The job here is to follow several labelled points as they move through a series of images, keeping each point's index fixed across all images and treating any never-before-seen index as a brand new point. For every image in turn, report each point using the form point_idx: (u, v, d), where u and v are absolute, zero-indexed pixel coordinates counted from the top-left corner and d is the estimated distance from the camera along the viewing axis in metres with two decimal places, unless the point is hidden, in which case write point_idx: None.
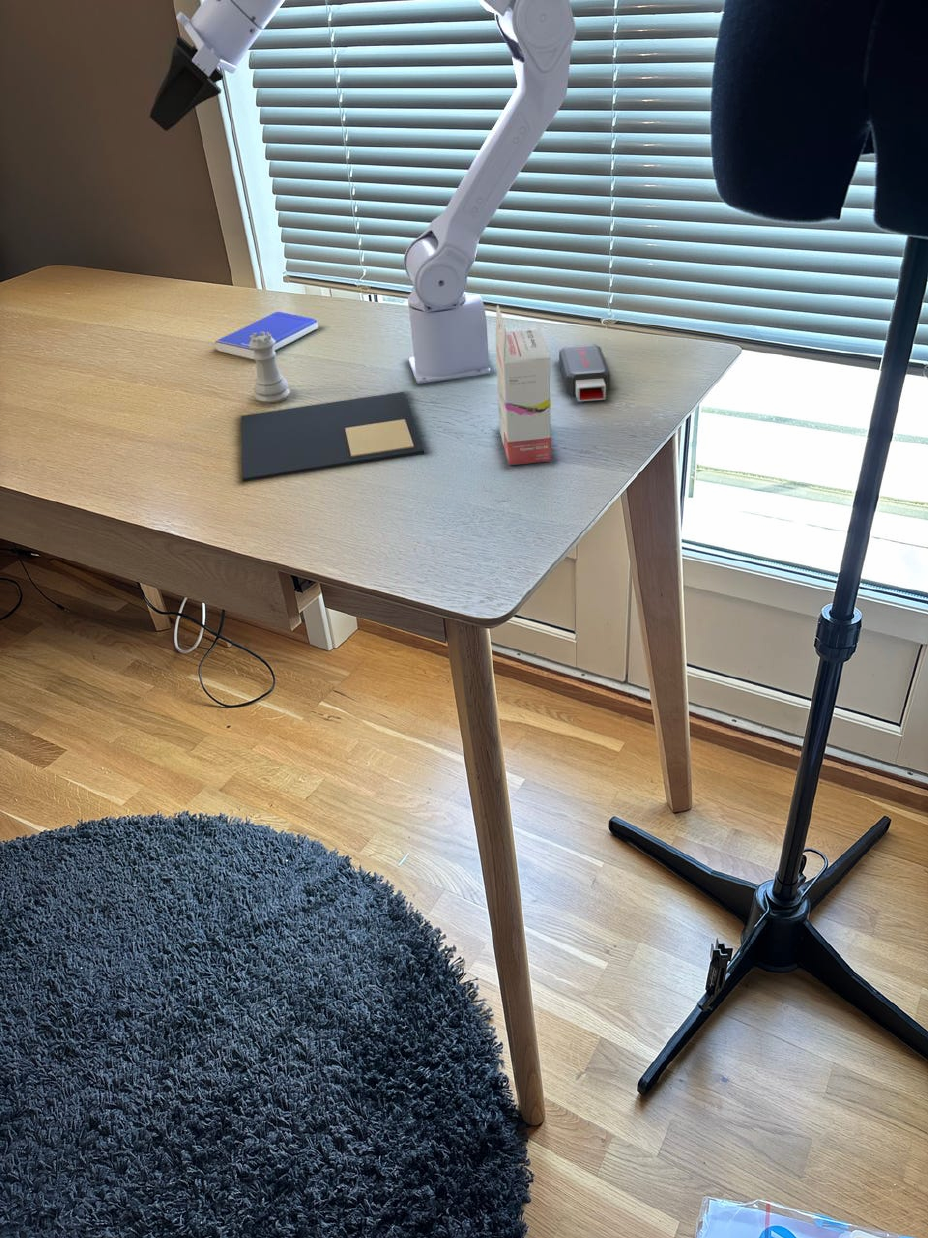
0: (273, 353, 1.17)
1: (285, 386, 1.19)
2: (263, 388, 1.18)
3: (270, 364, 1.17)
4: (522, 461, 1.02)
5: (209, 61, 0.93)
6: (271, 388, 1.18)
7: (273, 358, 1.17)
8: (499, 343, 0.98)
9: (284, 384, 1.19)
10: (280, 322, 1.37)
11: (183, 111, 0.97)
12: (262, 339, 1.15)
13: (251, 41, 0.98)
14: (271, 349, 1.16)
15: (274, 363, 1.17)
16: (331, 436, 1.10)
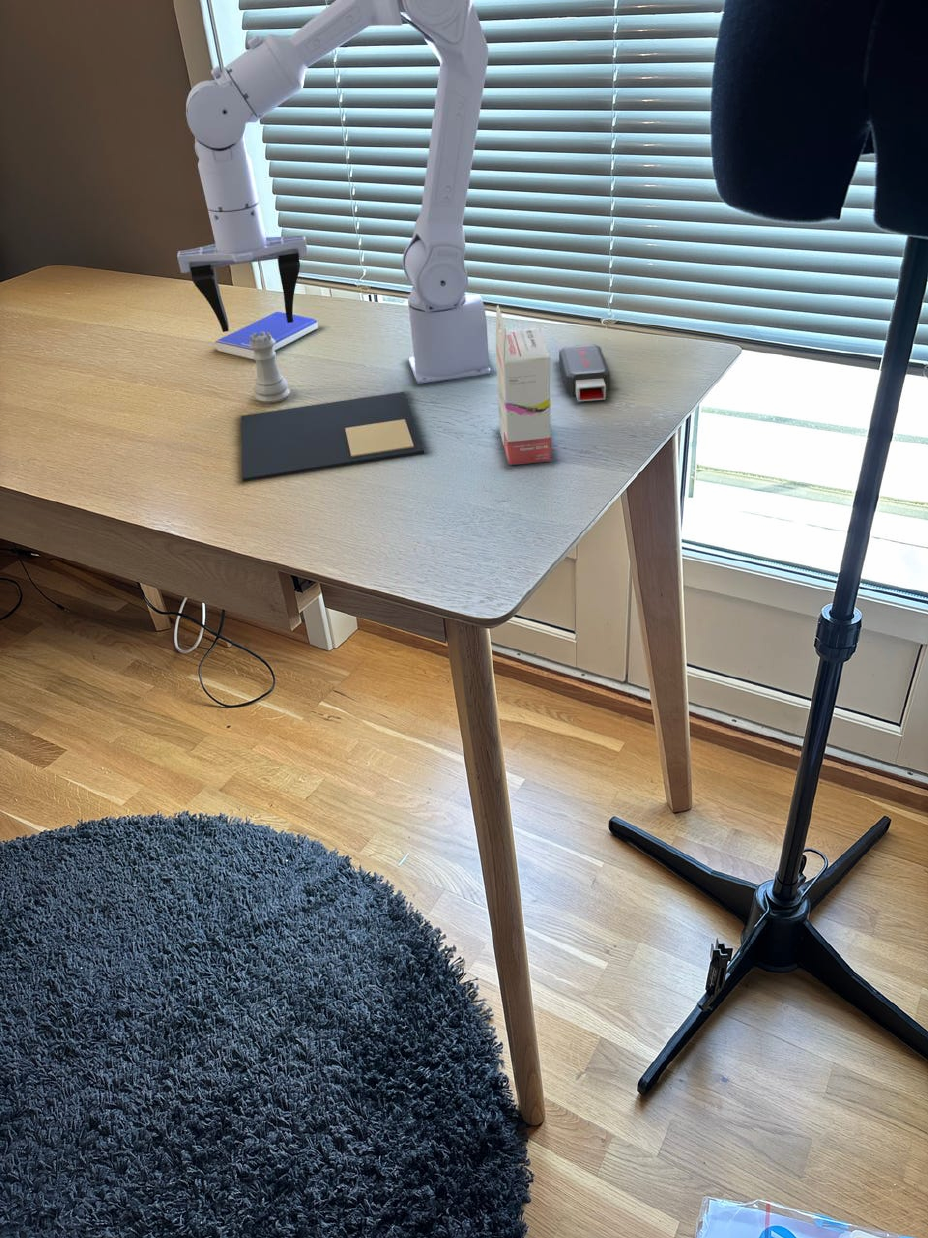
0: (273, 353, 1.17)
1: (285, 386, 1.19)
2: (263, 388, 1.18)
3: (270, 364, 1.17)
4: (522, 461, 1.02)
5: None
6: (271, 388, 1.18)
7: (273, 358, 1.17)
8: (499, 343, 0.98)
9: (284, 384, 1.19)
10: (280, 322, 1.37)
11: None
12: (262, 339, 1.15)
13: None
14: (271, 349, 1.16)
15: (274, 363, 1.17)
16: (331, 436, 1.10)
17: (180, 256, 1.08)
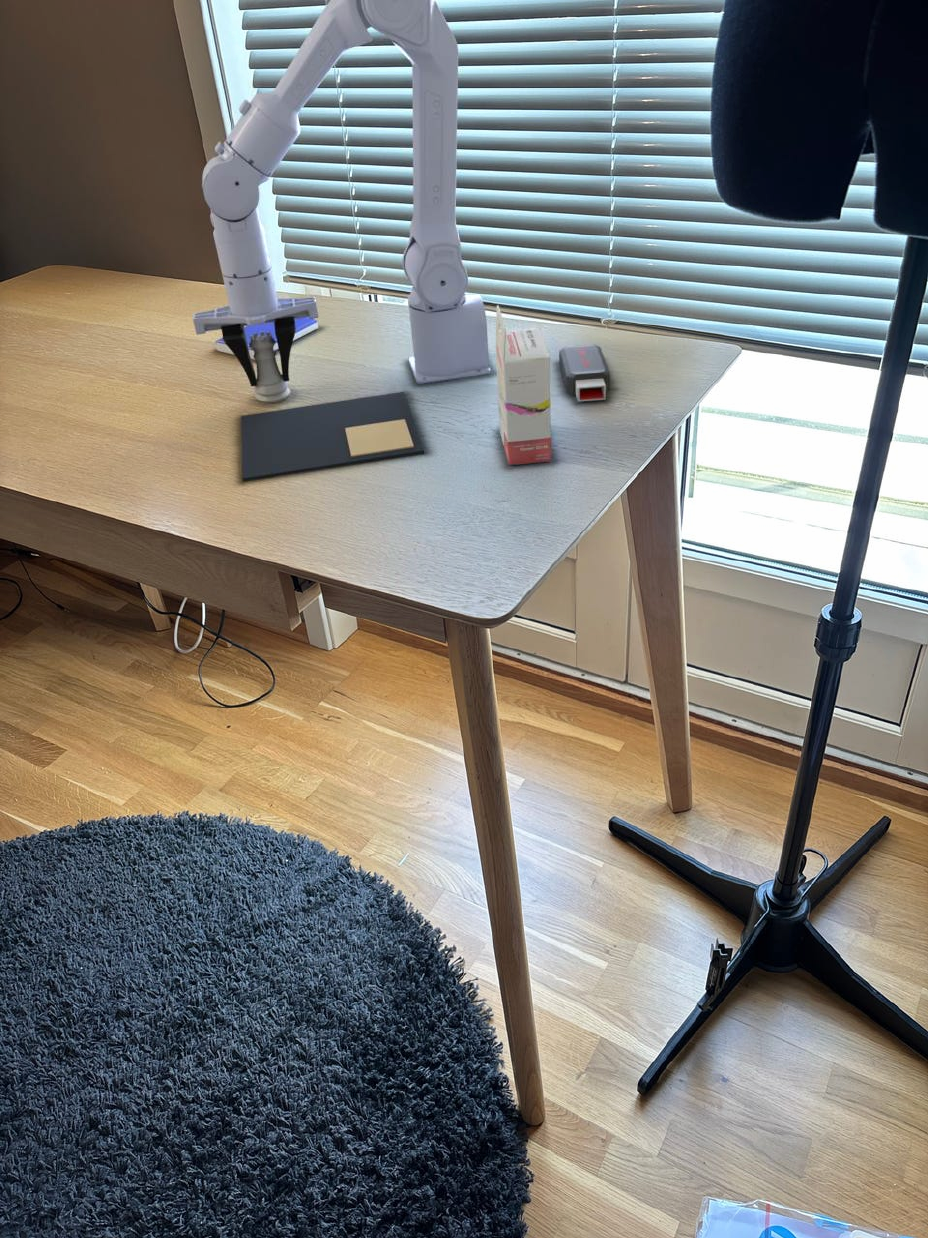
0: (273, 353, 1.17)
1: (285, 386, 1.19)
2: (263, 388, 1.18)
3: (270, 364, 1.17)
4: (522, 461, 1.02)
5: None
6: (271, 388, 1.18)
7: (274, 358, 1.17)
8: (499, 343, 0.98)
9: (284, 383, 1.19)
10: None
11: None
12: (262, 339, 1.15)
13: None
14: (271, 349, 1.16)
15: (274, 363, 1.17)
16: (331, 436, 1.10)
17: (195, 319, 1.12)
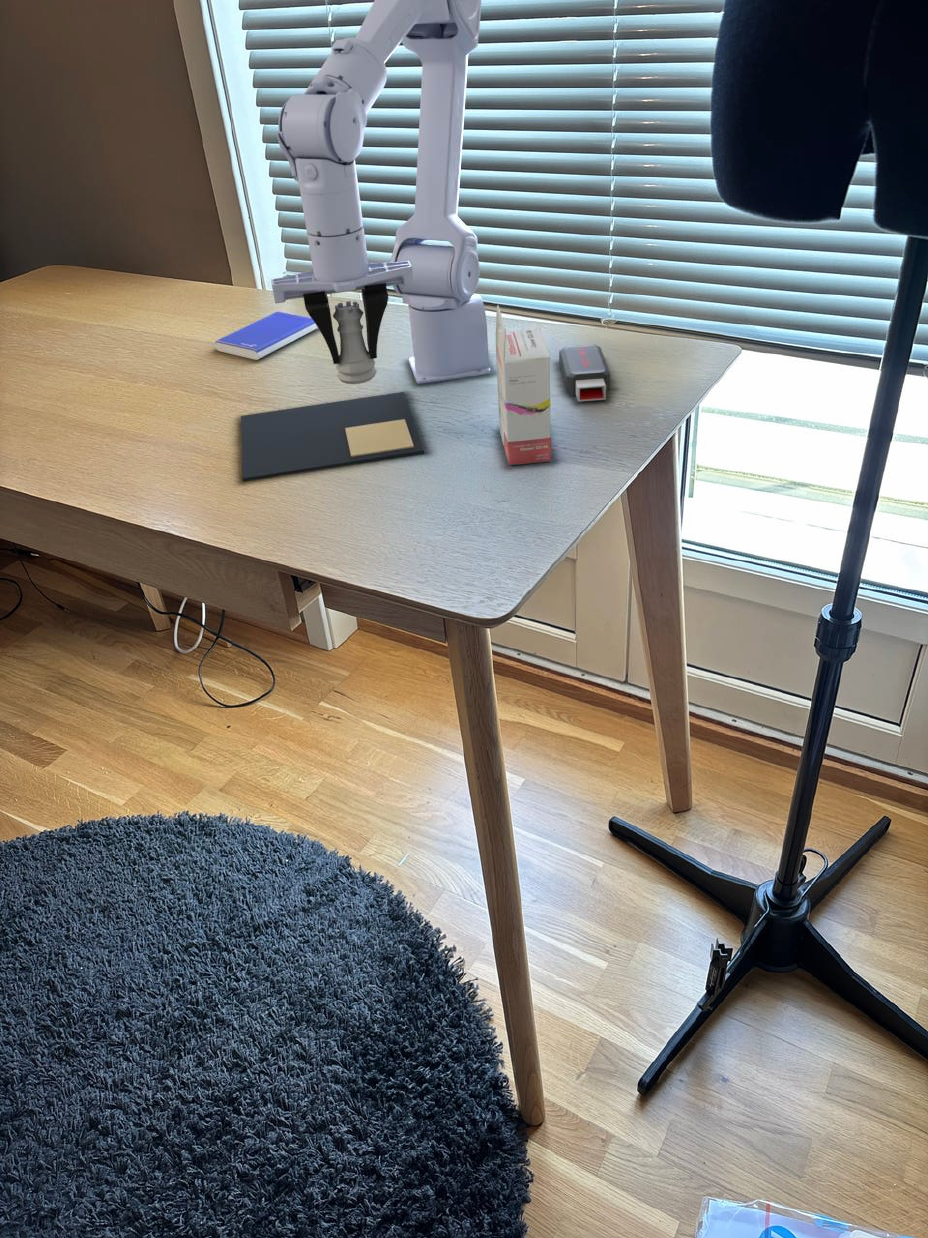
0: (360, 326, 1.02)
1: (372, 364, 1.04)
2: (347, 366, 1.03)
3: (357, 338, 1.02)
4: (522, 461, 1.02)
5: None
6: (357, 367, 1.03)
7: (361, 331, 1.02)
8: (499, 343, 0.98)
9: (371, 361, 1.04)
10: (280, 322, 1.37)
11: None
12: (349, 309, 1.01)
13: None
14: (358, 321, 1.01)
15: (361, 337, 1.03)
16: (331, 436, 1.10)
17: (275, 285, 0.97)
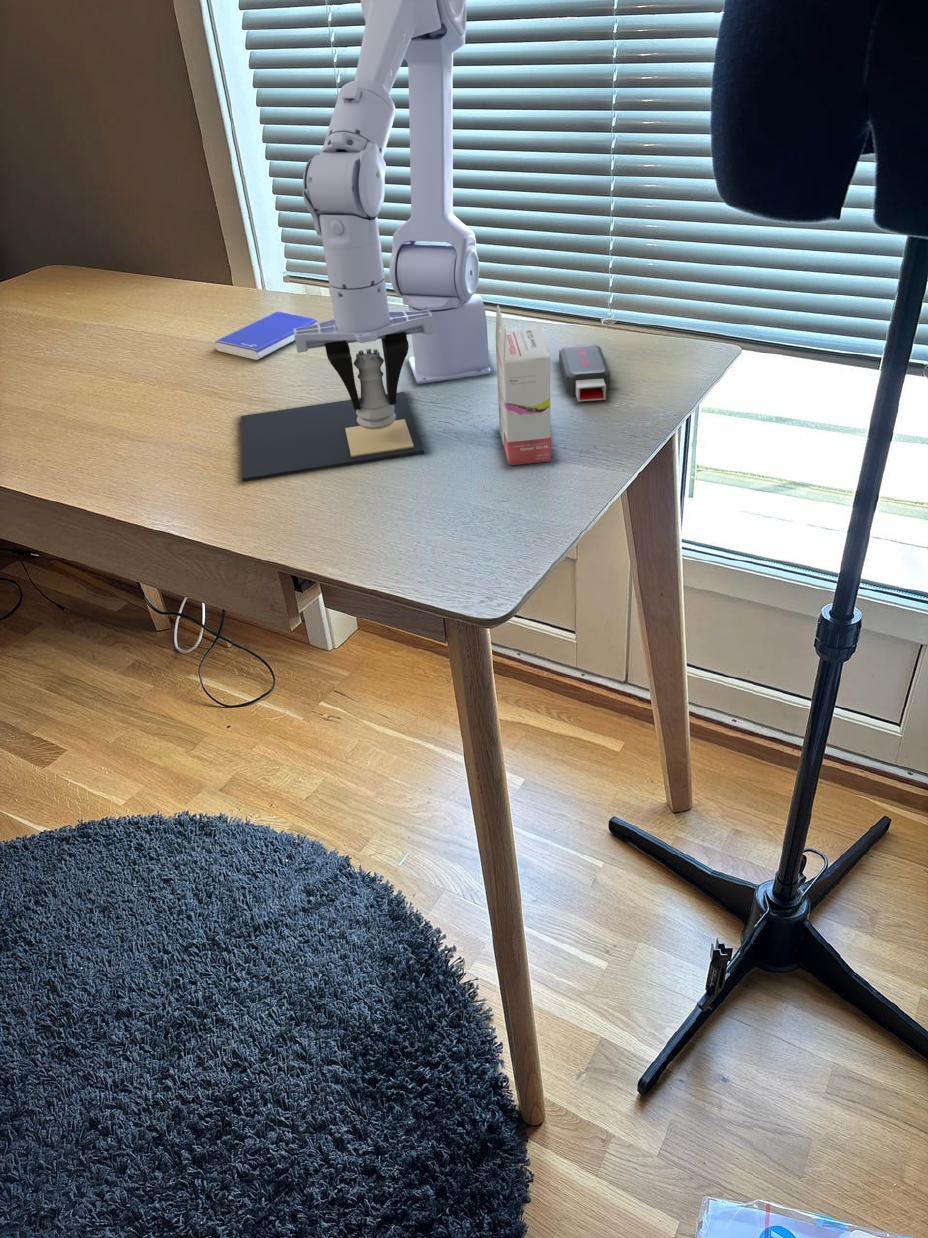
0: (381, 373, 1.04)
1: (392, 409, 1.06)
2: (368, 412, 1.05)
3: (377, 385, 1.04)
4: (522, 461, 1.02)
5: None
6: (377, 413, 1.05)
7: (381, 378, 1.04)
8: (499, 343, 0.98)
9: (390, 407, 1.06)
10: (280, 322, 1.37)
11: None
12: (370, 357, 1.02)
13: None
14: (379, 369, 1.03)
15: (381, 384, 1.04)
16: (331, 436, 1.10)
17: (297, 335, 0.99)
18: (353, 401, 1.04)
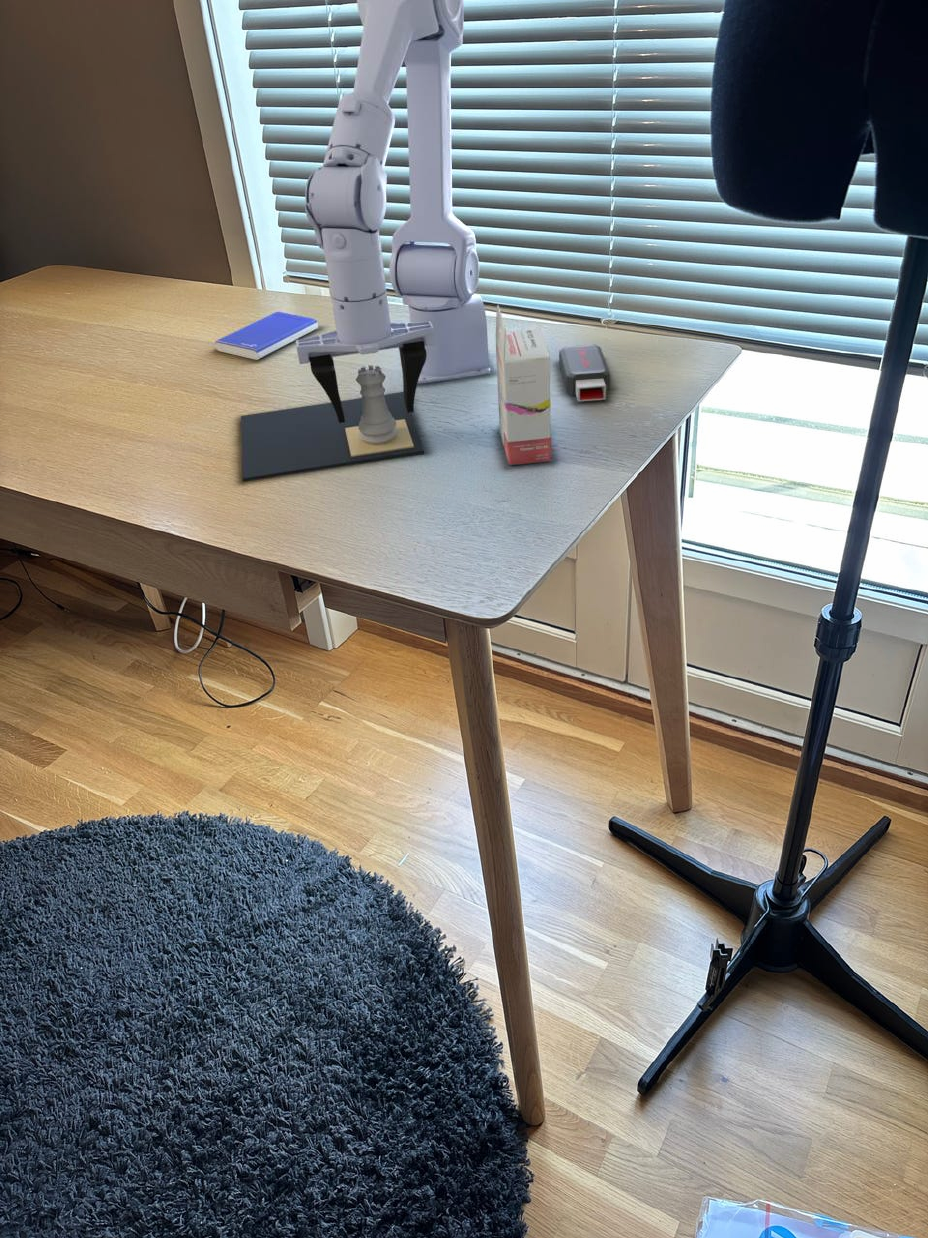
0: (382, 389, 1.05)
1: (394, 425, 1.07)
2: (370, 427, 1.06)
3: (379, 401, 1.05)
4: (522, 461, 1.02)
5: None
6: (379, 428, 1.06)
7: (383, 394, 1.05)
8: (499, 343, 0.98)
9: (392, 422, 1.07)
10: (280, 322, 1.37)
11: None
12: (372, 374, 1.03)
13: None
14: (381, 385, 1.04)
15: (383, 400, 1.05)
16: (331, 436, 1.10)
17: (299, 347, 1.00)
18: (338, 414, 1.05)
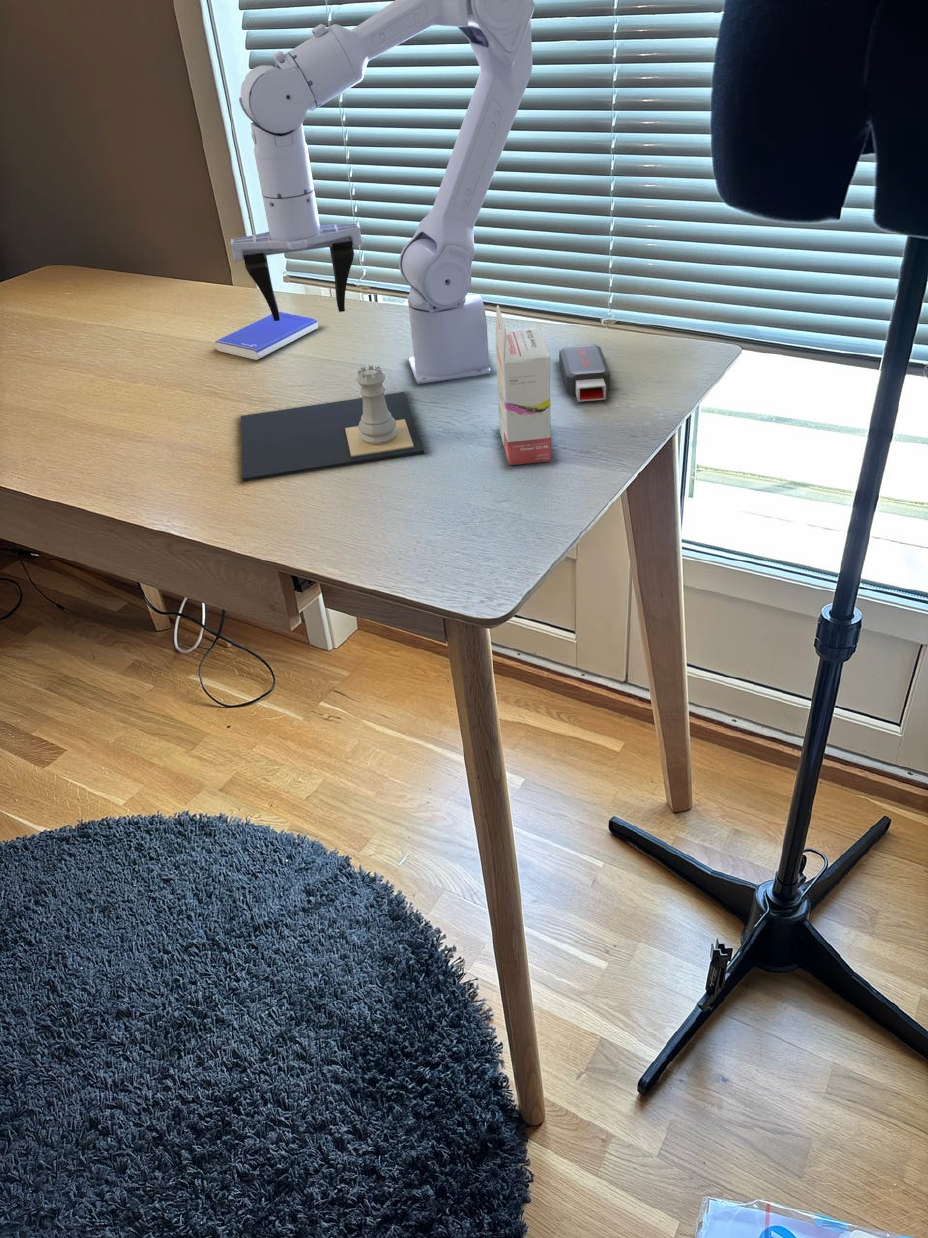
0: (382, 389, 1.05)
1: (394, 425, 1.07)
2: (370, 427, 1.06)
3: (379, 401, 1.05)
4: (522, 461, 1.02)
5: None
6: (379, 428, 1.06)
7: (383, 394, 1.05)
8: (499, 343, 0.98)
9: (392, 422, 1.07)
10: (280, 322, 1.37)
11: None
12: (372, 374, 1.03)
13: None
14: (381, 385, 1.04)
15: (383, 400, 1.05)
16: (331, 436, 1.10)
17: (234, 244, 1.06)
18: (272, 312, 1.11)
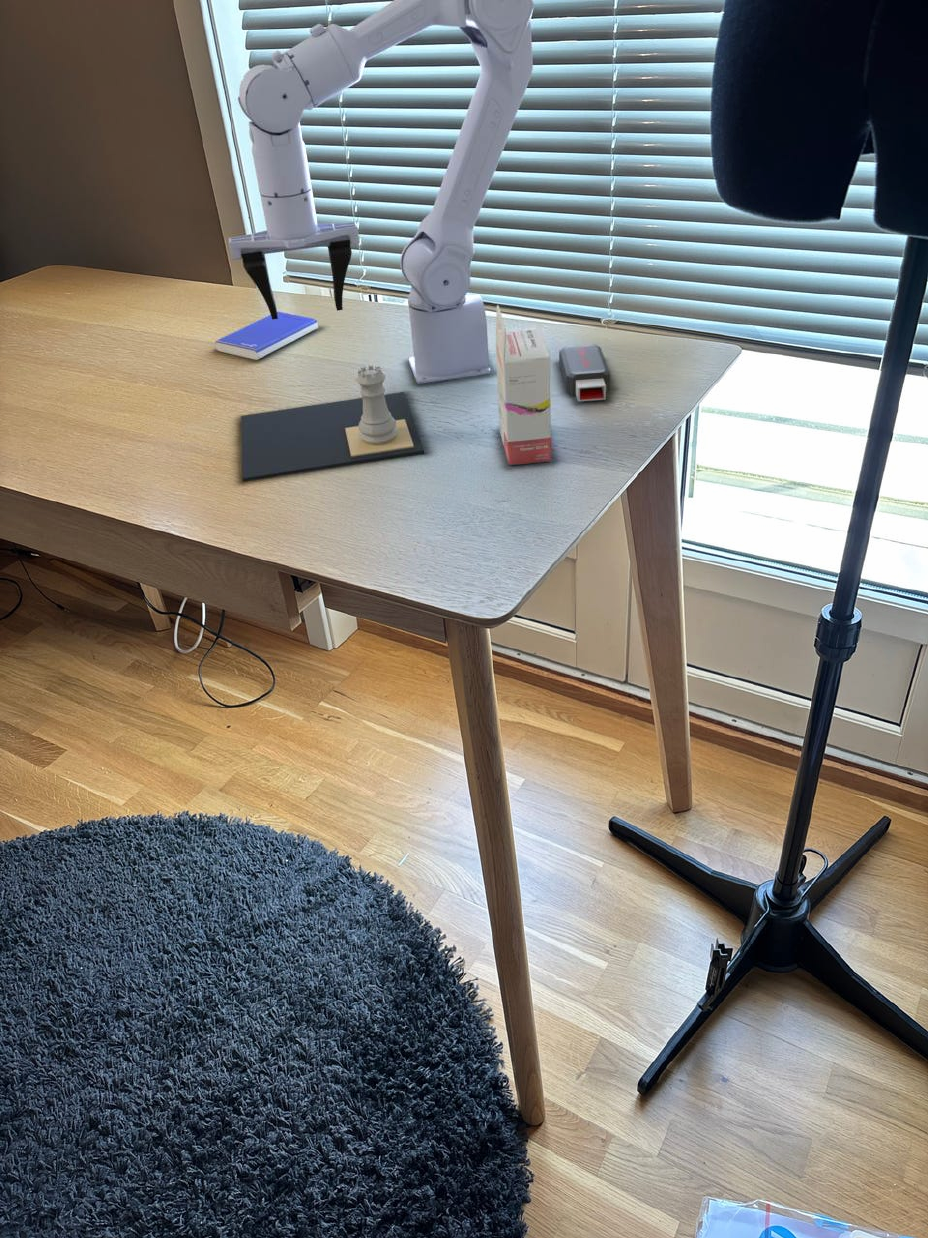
0: (383, 389, 1.05)
1: (394, 425, 1.07)
2: (370, 427, 1.06)
3: (379, 401, 1.05)
4: (522, 461, 1.02)
5: None
6: (379, 428, 1.06)
7: (383, 394, 1.05)
8: (499, 343, 0.98)
9: (392, 422, 1.07)
10: (280, 322, 1.37)
11: None
12: (372, 374, 1.03)
13: None
14: (381, 385, 1.04)
15: (383, 400, 1.05)
16: (331, 436, 1.10)
17: (232, 242, 1.07)
18: (270, 310, 1.12)
